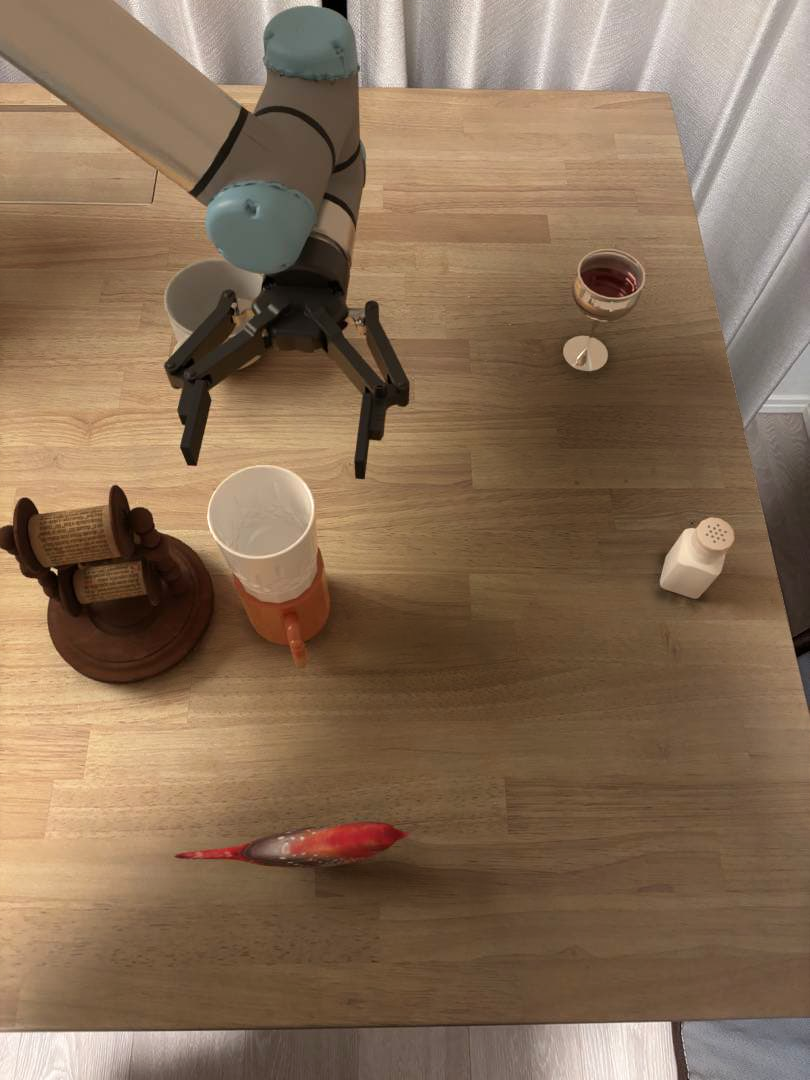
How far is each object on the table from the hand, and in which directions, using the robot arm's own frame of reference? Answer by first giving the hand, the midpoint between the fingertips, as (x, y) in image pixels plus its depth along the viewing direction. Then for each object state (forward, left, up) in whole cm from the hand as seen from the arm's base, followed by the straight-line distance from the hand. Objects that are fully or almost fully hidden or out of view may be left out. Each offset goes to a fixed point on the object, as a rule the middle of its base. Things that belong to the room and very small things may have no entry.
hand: (273, 464), depth 65 cm
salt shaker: (+12, +35, -17) cm, 41 cm away
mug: (+7, -2, -17) cm, 18 cm away
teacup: (-26, -3, -17) cm, 31 cm away
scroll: (+2, -15, -17) cm, 23 cm away
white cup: (+5, -2, -8) cm, 9 cm away
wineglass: (-16, +36, -17) cm, 43 cm away
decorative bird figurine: (+27, -5, -17) cm, 32 cm away
